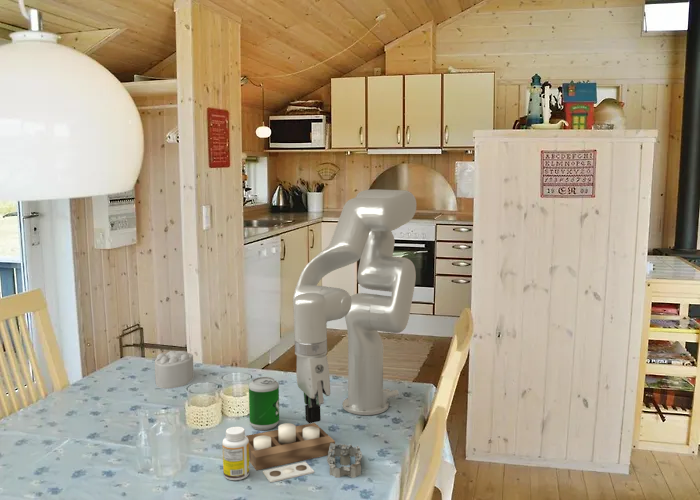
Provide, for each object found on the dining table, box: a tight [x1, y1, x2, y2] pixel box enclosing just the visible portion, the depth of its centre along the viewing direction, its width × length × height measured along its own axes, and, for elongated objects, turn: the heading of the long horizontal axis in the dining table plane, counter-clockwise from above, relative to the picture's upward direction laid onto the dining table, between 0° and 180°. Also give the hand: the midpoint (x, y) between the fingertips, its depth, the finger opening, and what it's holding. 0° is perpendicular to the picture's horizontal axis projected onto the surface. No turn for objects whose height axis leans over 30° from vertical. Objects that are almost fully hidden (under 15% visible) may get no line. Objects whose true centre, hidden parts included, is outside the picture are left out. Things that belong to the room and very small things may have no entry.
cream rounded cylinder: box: [254, 436, 271, 450], centre depth 149 cm, size 4×4×4 cm
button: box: [303, 426, 320, 440], centre depth 155 cm, size 4×4×4 cm
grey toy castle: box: [326, 443, 363, 479], centre depth 144 cm, size 11×8×4 cm
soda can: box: [248, 376, 280, 431], centre depth 166 cm, size 8×8×12 cm
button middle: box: [277, 422, 297, 445], centre depth 152 cm, size 4×4×4 cm
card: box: [262, 461, 315, 483], centre depth 142 cm, size 10×5×1 cm, turn 116°
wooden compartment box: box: [245, 422, 336, 471], centre depth 152 cm, size 19×12×3 cm, turn 116°
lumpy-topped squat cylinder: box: [154, 350, 195, 390], centre depth 200 cm, size 10×13×9 cm
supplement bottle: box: [221, 426, 250, 481], centre depth 140 cm, size 6×6×10 cm
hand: (313, 420), depth 155 cm, fingers closed
